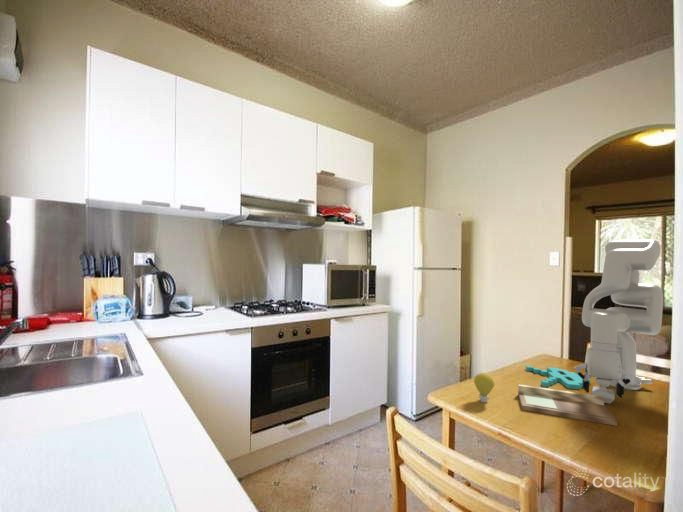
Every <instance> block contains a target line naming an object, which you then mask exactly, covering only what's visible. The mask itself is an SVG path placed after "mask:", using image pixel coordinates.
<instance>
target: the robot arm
mask: <svg viewBox="0 0 683 512" xmlns="http://www.w3.org/2000/svg"><path fill="white" fill-rule="evenodd" d="M604 251H605V256H604V261H603V262H604V263H603V271H602V276H601V283H600V284H599V285H598V286H596V287H595V288H593V289H592V290H591V291H590V292H589V293H588V294H587V295H586V297H585V298H584V302H583V306H582V310H581V311H582V312H581V321H582V324H583V325H584V326H585V327H587V328H590V347H587V349H586V353H585V358H584V359H585V360H584V363H582V364H579V365H575V366H574V367H573V368H574V370H575V373H576V374H578V375H579V376H580V377H581V378H582V379H583V389H582V390H583V391H585V393H586V394H588V393H590V384H589V382H588V380H591V378H595V379H596V378H602V379H609V380H611V385H609V387H610V386H611V387H613V388H616V389H615V390H616V392H615V395H617V397H619V398H621V399H622V398H623V395H624V394H625V390H628V391H639V390H641V389H642V385H643V384H646V385H652V384H653V381H652V379H650V378H646V377H641V376H638V375H637V343H636V340H635V339H634V338H633V336H632V335H631V334H630V333H635V334H641V335H648V336H657V335H659V334H660V333H661V330H662V324H663V310H664V308H663V307H664V292H663V290H662V288H661V287H660V286H659V285H657V284H654V283H653V284H652V283H643V282H642V283H641V282H640V271H642V272H643V271H648V272H649V271H651V270H652V269H653V268H654V267H655V266H656V263H657V262H658V259H659V257H660V256H661V245H660V243H659V241H657V240H655V239H620V240H619V239H617V240H612V241H608V242H607V243H606V244H605V248H604ZM608 296H610V299H611V302H612V303H614V304H617V305H621V307H620V306H614V307H611V306H610V307H608V308H606V309H602V308H600V309H599V308H594V307H595V304H596V303H597V302H599V301H600V300H601V299H602V298H605V297H608ZM622 306H629V307H622ZM631 307H640V308H645V309H639V308H631ZM583 369H584V372H585V373H584V374H583V373H582V371H581V370H583Z"/></svg>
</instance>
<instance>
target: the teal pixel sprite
mask: <svg viewBox="0 0 683 512" xmlns="http://www.w3.org/2000/svg"><path fill="white" fill-rule="evenodd" d="M525 370H526V372H532V371H533V372H532V373H534V374H537V373H539V374H538V375H541V376H542V375H543V376H545V377H548V378H544V380H543V379H541V381H540V385H541V386H542V388H549V387H550V386H554V385H555V384H558V383H561V384H562V385H563V386H564V387H565V388H566V389H571V390H581V388H583V379H582V378H581V377H580V376H579V375H578V374H577V372H573V371H568V370H566V369H560V368H559V367H551V366H550V367H549V366H547V367H546V369H540V368H539V367H533V366H531V365H525ZM588 382H589V385H591V379H589V380H588Z"/></svg>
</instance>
